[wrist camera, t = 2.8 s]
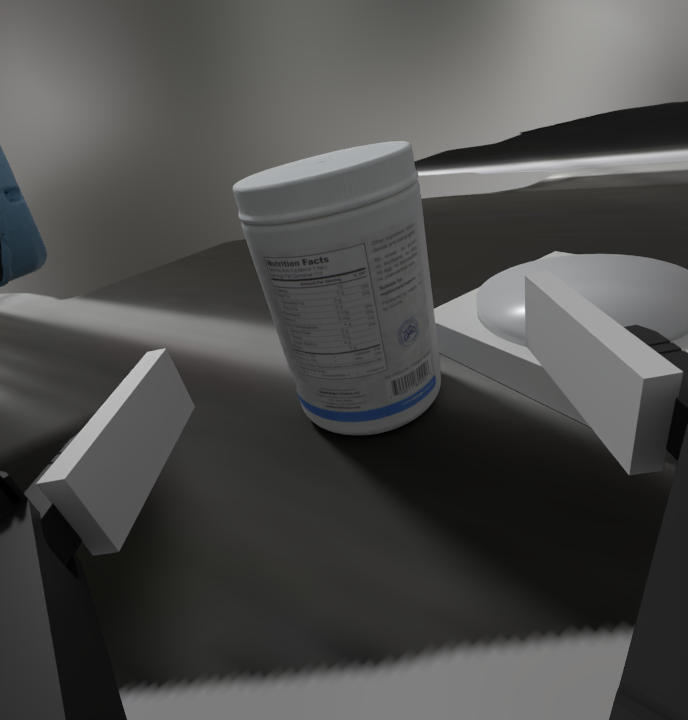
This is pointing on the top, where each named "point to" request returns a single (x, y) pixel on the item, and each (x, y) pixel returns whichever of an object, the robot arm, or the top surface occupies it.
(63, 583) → the robot arm
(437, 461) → the top surface
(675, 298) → the scale
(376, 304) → the supplement tub
